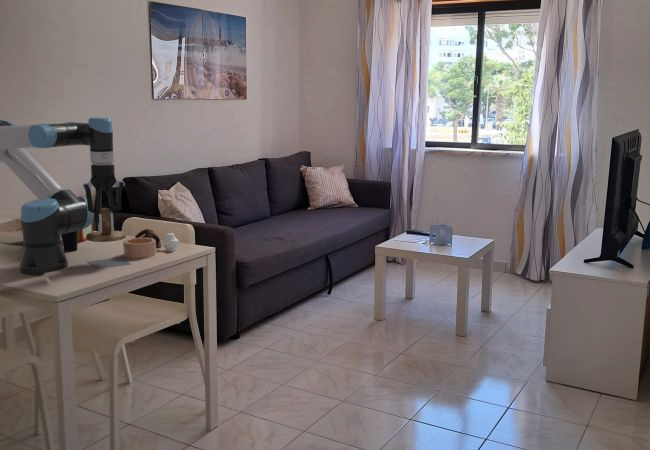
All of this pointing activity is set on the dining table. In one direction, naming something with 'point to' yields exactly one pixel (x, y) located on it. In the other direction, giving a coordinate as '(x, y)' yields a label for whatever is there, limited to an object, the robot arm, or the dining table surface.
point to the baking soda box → (85, 233)
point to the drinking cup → (70, 241)
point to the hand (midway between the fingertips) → (105, 231)
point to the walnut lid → (105, 230)
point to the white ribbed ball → (170, 242)
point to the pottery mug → (149, 236)
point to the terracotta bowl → (139, 248)
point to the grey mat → (108, 263)
